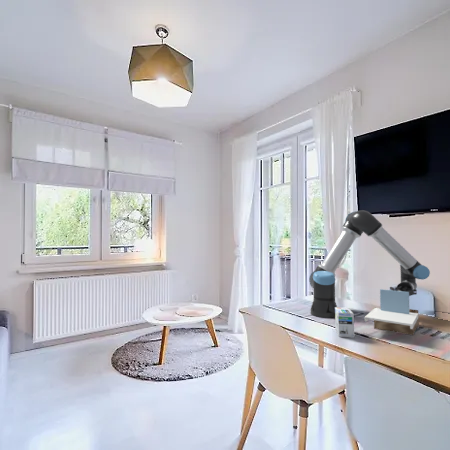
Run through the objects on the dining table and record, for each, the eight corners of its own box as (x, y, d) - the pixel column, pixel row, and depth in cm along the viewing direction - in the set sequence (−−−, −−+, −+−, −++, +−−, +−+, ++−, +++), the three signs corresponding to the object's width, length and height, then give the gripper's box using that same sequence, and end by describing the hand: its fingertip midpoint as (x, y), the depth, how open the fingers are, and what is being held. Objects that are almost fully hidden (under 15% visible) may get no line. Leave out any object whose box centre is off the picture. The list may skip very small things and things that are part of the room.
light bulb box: (354, 338, 134) (354, 313, 134) (338, 337, 135) (338, 312, 135) (349, 330, 144) (349, 307, 144) (334, 329, 145) (334, 306, 146)
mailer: (374, 328, 147) (373, 313, 147) (382, 319, 162) (382, 305, 163) (413, 335, 137) (412, 319, 137) (418, 324, 153) (418, 310, 153)
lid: (364, 321, 138) (364, 294, 138) (375, 311, 154) (374, 287, 154) (412, 329, 126) (411, 299, 127) (418, 317, 143) (417, 291, 143)
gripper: (392, 280, 176) (382, 286, 157) (418, 282, 167) (412, 289, 149) (392, 293, 175) (382, 301, 157) (419, 296, 167) (412, 304, 149)
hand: (397, 295), depth 153 cm, fingers closed
